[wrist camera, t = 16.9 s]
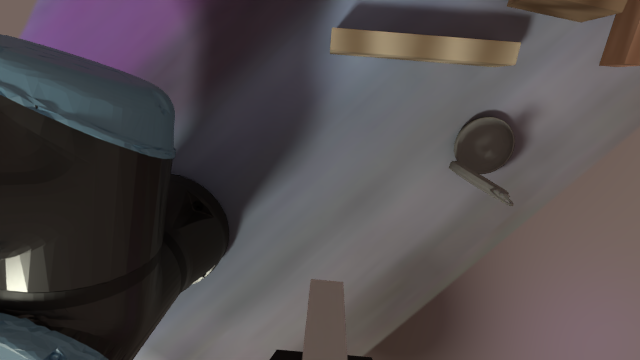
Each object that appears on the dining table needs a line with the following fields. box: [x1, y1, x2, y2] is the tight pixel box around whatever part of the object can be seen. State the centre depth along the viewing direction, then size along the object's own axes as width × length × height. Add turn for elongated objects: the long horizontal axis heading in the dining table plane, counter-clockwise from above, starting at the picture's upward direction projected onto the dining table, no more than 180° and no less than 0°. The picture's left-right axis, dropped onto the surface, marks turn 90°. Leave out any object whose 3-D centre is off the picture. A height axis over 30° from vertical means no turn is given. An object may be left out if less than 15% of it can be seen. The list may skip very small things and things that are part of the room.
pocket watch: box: [449, 117, 515, 206], centre depth 32 cm, size 8×8×10 cm
